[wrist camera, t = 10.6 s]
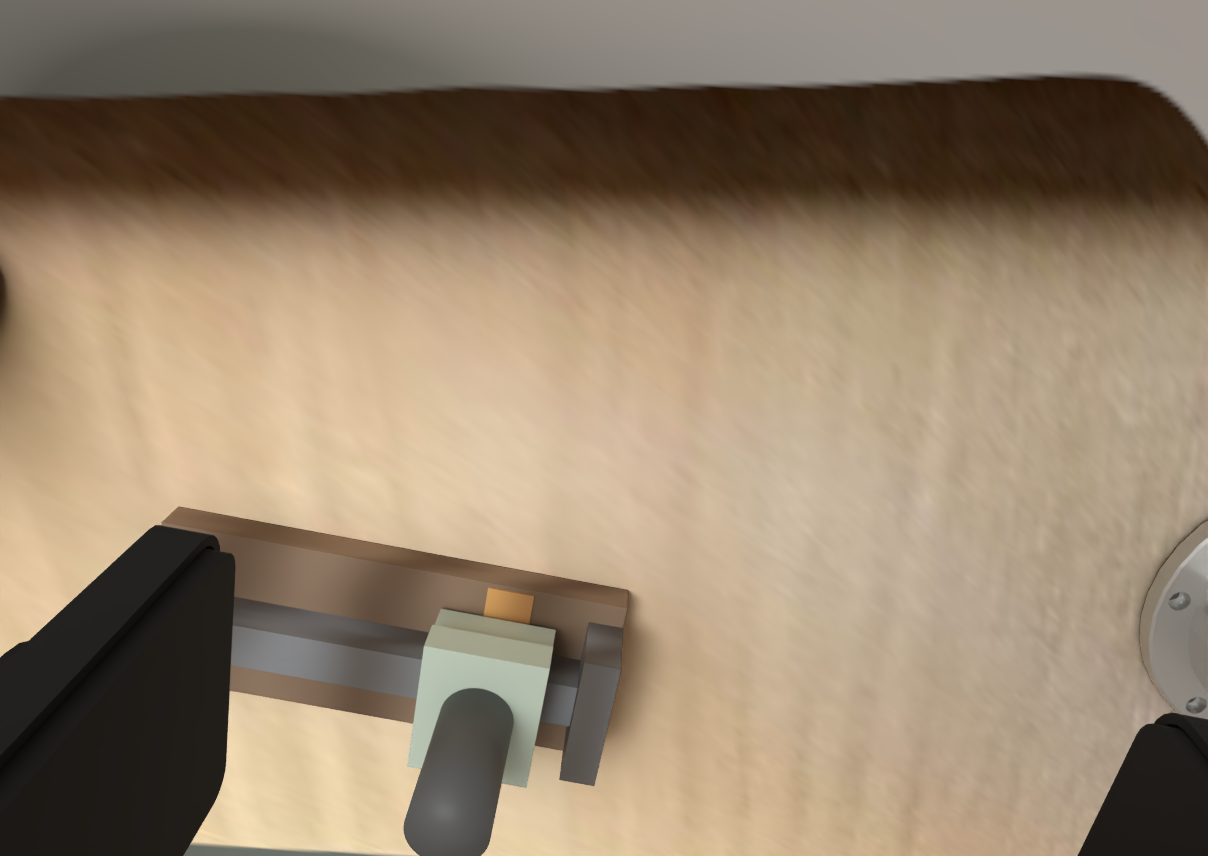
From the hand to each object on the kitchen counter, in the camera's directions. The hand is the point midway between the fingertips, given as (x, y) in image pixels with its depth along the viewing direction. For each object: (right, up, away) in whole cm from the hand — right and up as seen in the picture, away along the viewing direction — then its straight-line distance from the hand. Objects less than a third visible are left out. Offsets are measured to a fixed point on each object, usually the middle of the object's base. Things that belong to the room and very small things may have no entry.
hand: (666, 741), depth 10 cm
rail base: (-10, -6, +33) cm, 35 cm away
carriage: (-6, -7, +31) cm, 33 cm away
